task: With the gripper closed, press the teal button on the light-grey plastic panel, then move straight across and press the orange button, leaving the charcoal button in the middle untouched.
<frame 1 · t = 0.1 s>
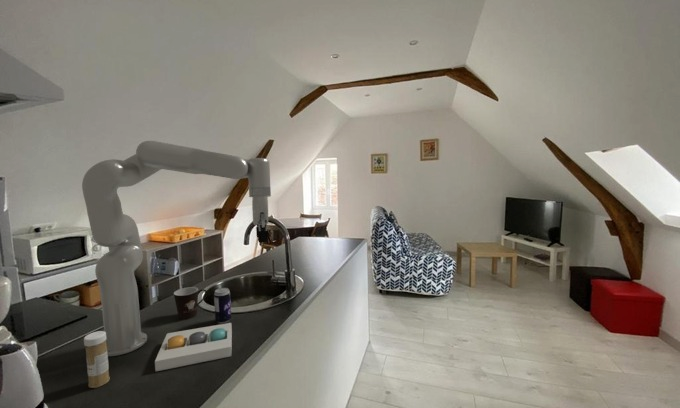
hand: (262, 239, 109), 31 cm above the counter, tool pointing down, fingers open, 9 cm apart
charcoal button: (197, 339, 94), point 3 cm above the counter, slide at 0.0 cm
orange button: (176, 342, 92), point 3 cm above the counter, slide at 0.0 cm
sprinkles bottle: (99, 383, 79), on the counter
panel: (198, 348, 94), on the counter
beverage can: (223, 321, 113), on the counter
coffee mug: (192, 315, 118), on the counter
teal button: (217, 335, 96), point 3 cm above the counter, slide at 0.0 cm
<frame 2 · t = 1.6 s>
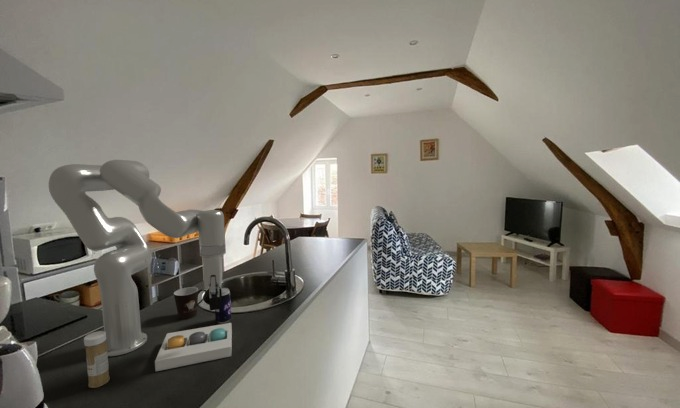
hand: (216, 304, 95), 14 cm above the counter, tool pointing down, fingers open, 5 cm apart
nothing on the counter moved.
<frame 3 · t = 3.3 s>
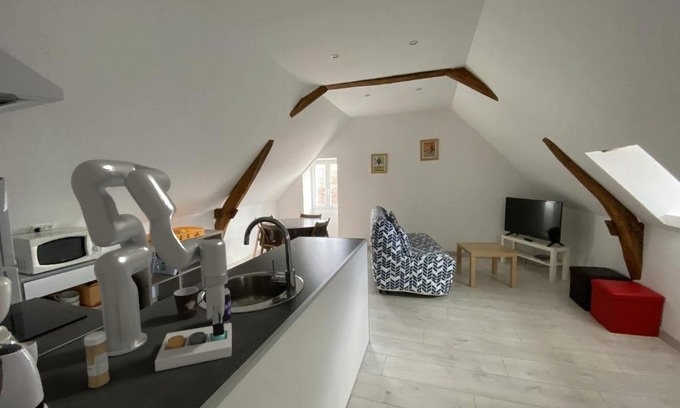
hand: (218, 334, 96), 4 cm above the counter, tool pointing down, fingers closed
teal button: (218, 337, 96), point 2 cm above the counter, slide at 0.9 cm, touching gripper
everything else where it was.
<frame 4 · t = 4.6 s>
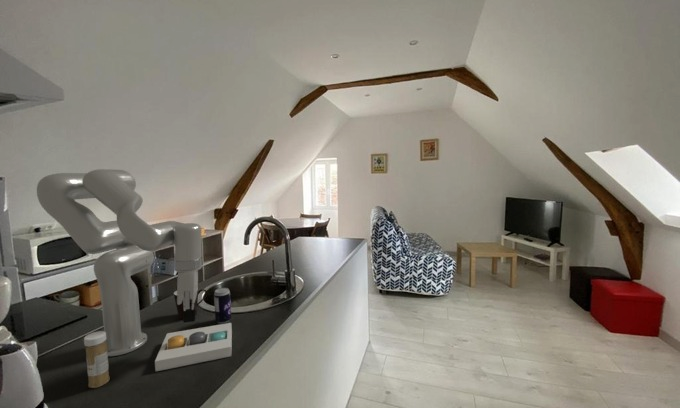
hand: (189, 320, 93), 9 cm above the counter, tool pointing down, fingers closed
teal button: (218, 338, 96), point 2 cm above the counter, slide at 1.1 cm
everything else where it was.
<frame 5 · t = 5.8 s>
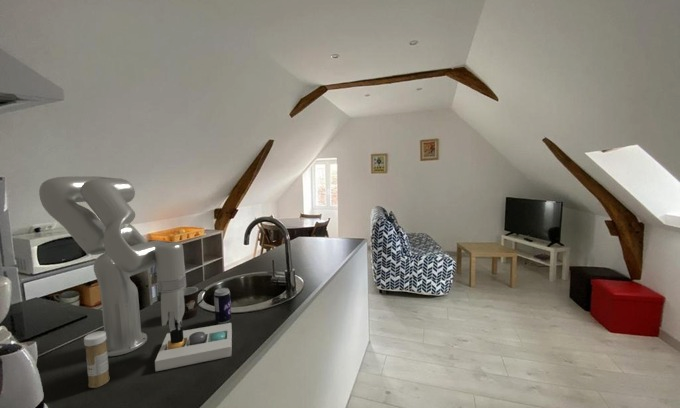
hand: (177, 341, 92), 4 cm above the counter, tool pointing down, fingers closed
orange button: (176, 345, 92), point 3 cm above the counter, slide at 0.7 cm, touching gripper
everything else where it was.
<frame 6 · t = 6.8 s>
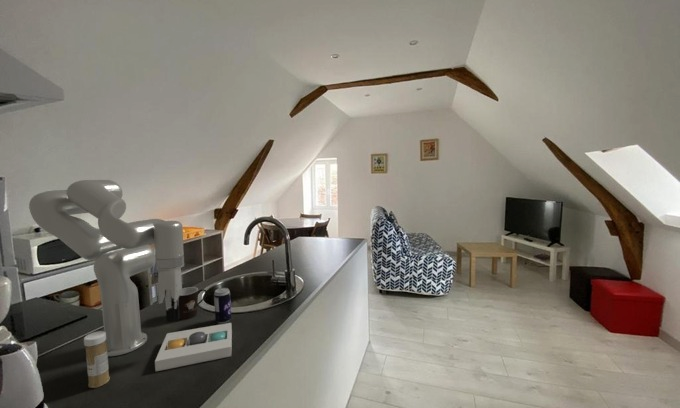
hand: (173, 320, 92), 10 cm above the counter, tool pointing down, fingers closed
orange button: (176, 346, 92), point 2 cm above the counter, slide at 1.2 cm
everything else where it was.
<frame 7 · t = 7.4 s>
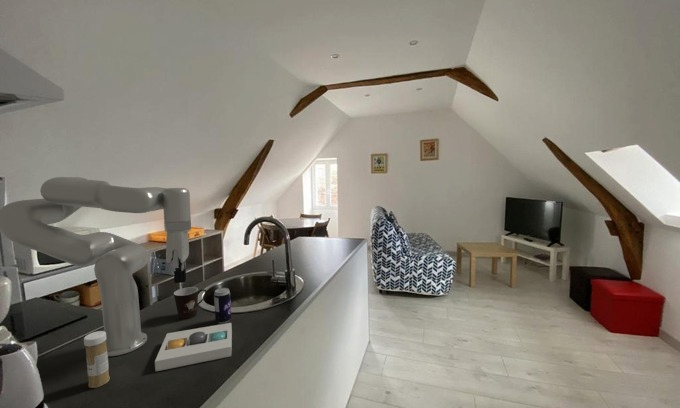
hand: (180, 281, 98), 20 cm above the counter, tool pointing down, fingers closed
nothing on the counter moved.
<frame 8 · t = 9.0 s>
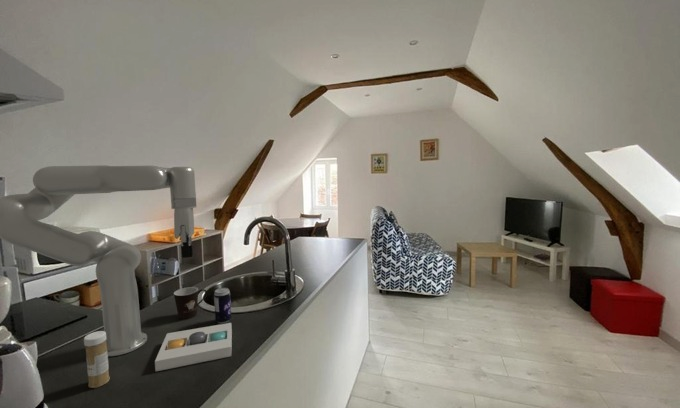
hand: (187, 256, 102), 27 cm above the counter, tool pointing down, fingers closed
nothing on the counter moved.
at the end: teal button slide at 1.1 cm; orange button slide at 1.2 cm; charcoal button slide at 0.0 cm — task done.
